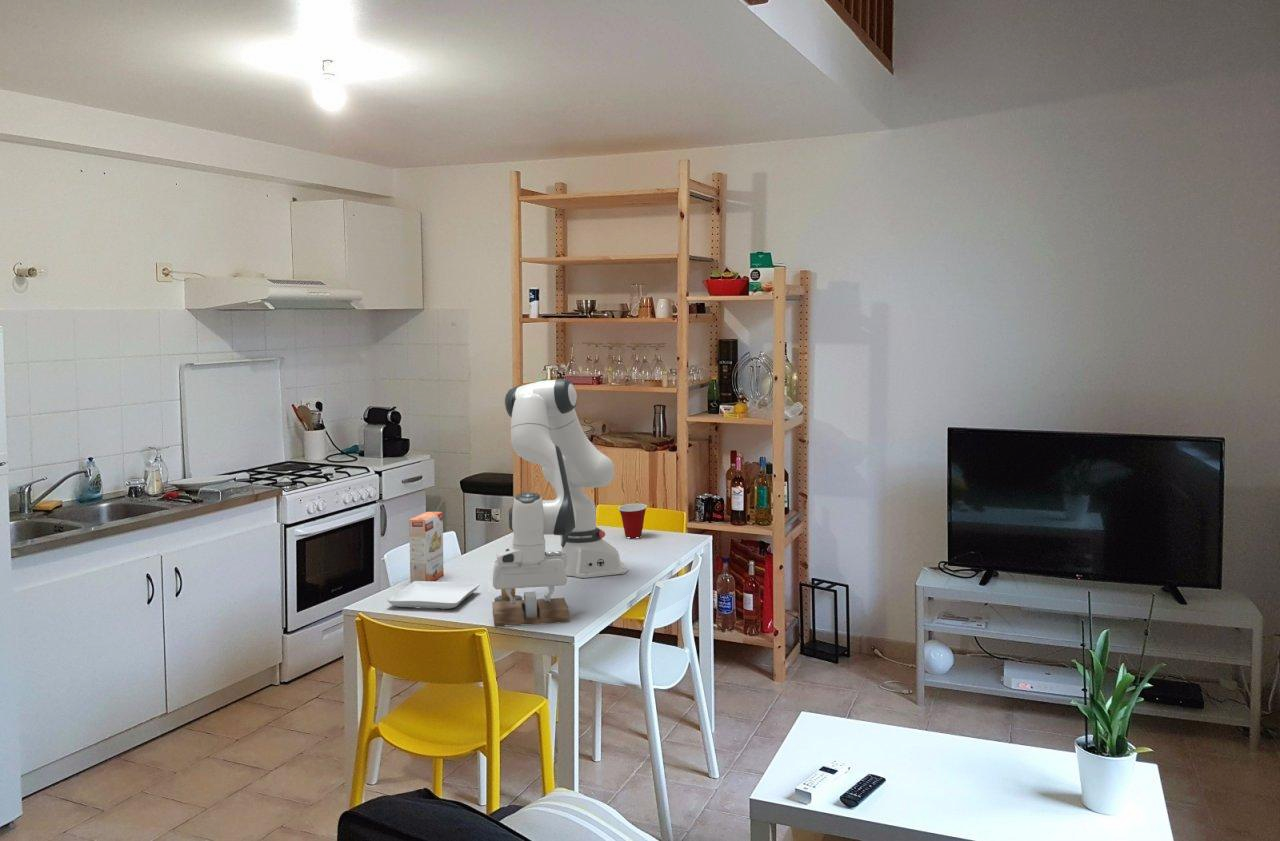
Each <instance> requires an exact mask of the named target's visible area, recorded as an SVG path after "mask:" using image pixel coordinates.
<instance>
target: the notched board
mask: <svg viewBox="0 0 1280 841" xmlns="http://www.w3.org/2000/svg"><path fill="white" fill-rule="evenodd" d="M491 605H492V619H493V618H494V619H493V625H494V627H495V628H498V626H501V627H506V626H505V625H516V626H522V625H521V624H531V625H541V623H546V624H558V623H557V622H561V623H570V608H569V606H568V604H567V602H566V599H565V598H564V597H553V598H551V597H550V602H545V598H537V618H527V619H526V617H525V612H524V599H522V600H518V601H516V604H510V601H502V602H495V601H492V604H491Z"/></svg>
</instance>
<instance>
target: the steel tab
mask: <svg viewBox="0 0 1280 841" xmlns="http://www.w3.org/2000/svg"><path fill="white" fill-rule="evenodd" d="M537 599H538V596H537V593H536V591H524V592H523V600H524V612H525V617H526V619H527V618H537Z"/></svg>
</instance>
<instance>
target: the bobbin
mask: <svg viewBox="0 0 1280 841" xmlns="http://www.w3.org/2000/svg"><path fill="white" fill-rule="evenodd" d="M494 561H495V562H494V564H495V563H496V562H497V559H496V560H494ZM500 593H501V595H499V596H496V597H495V598H494V602H502V601H510V598H509V596H508V595H507V593H506V589H500ZM510 594H511V595H512V597H514V596H515V598H516V601H518V600H523V596H520V595H517V594H516V588H512V589H511V592H510Z"/></svg>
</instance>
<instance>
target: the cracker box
mask: <svg viewBox="0 0 1280 841" xmlns="http://www.w3.org/2000/svg"><path fill="white" fill-rule="evenodd" d="M443 513H444V512H443V511H426V512H423V513H421V514H419V515H417V516H414V517H411V518H409V520H408V527H409V528H408V532H409V533H408V534H409V537H408V538H409V572H410V573H409V576H410V578H409V579H410V584H411V583H412V582H414V581H436V580H438V579H439V578H441V577H443V576H444V574H445V573H444V521H443V520H444V519H443V516H444V515H443Z"/></svg>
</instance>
